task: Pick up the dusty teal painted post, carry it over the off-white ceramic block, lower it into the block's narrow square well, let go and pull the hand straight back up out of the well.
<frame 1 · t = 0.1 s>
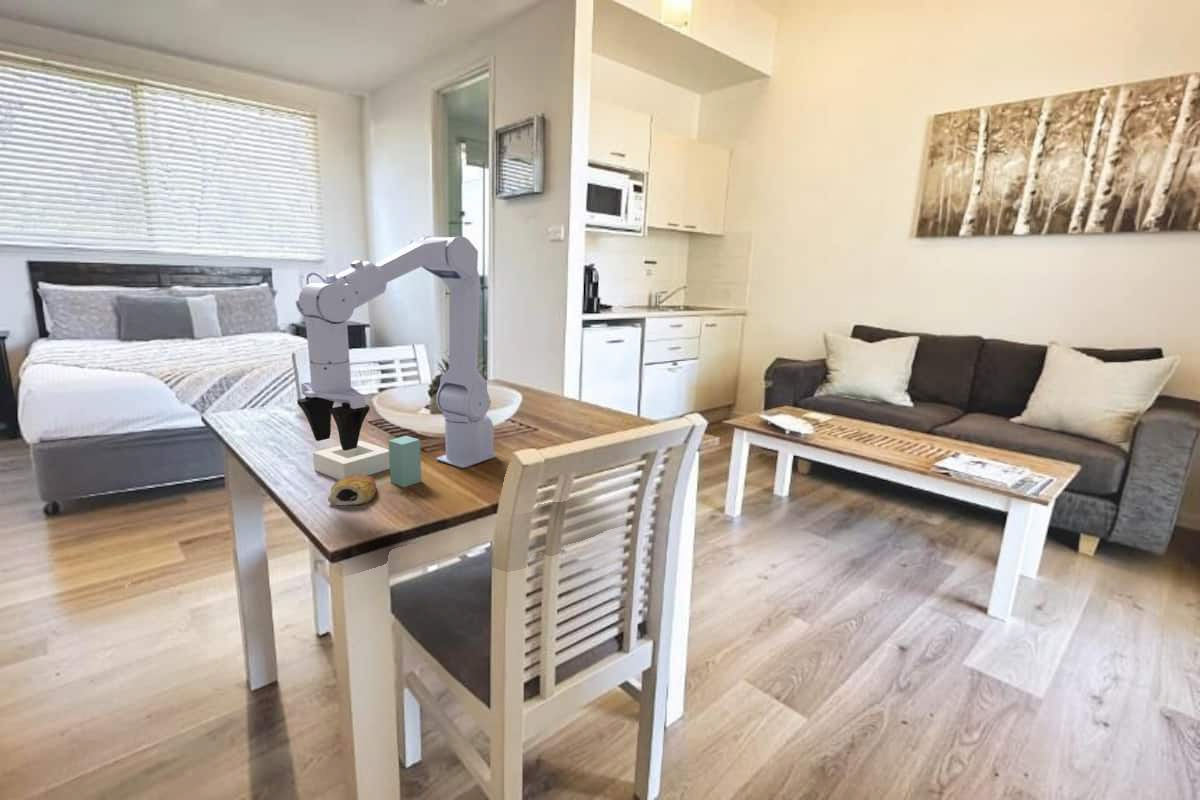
hand: (335, 444, 92), 10 cm above the table, tool pointing down, fingers open, 7 cm apart
pastry: (354, 499, 97), on the table
post: (406, 481, 104), on the table
well: (353, 468, 109), on the table
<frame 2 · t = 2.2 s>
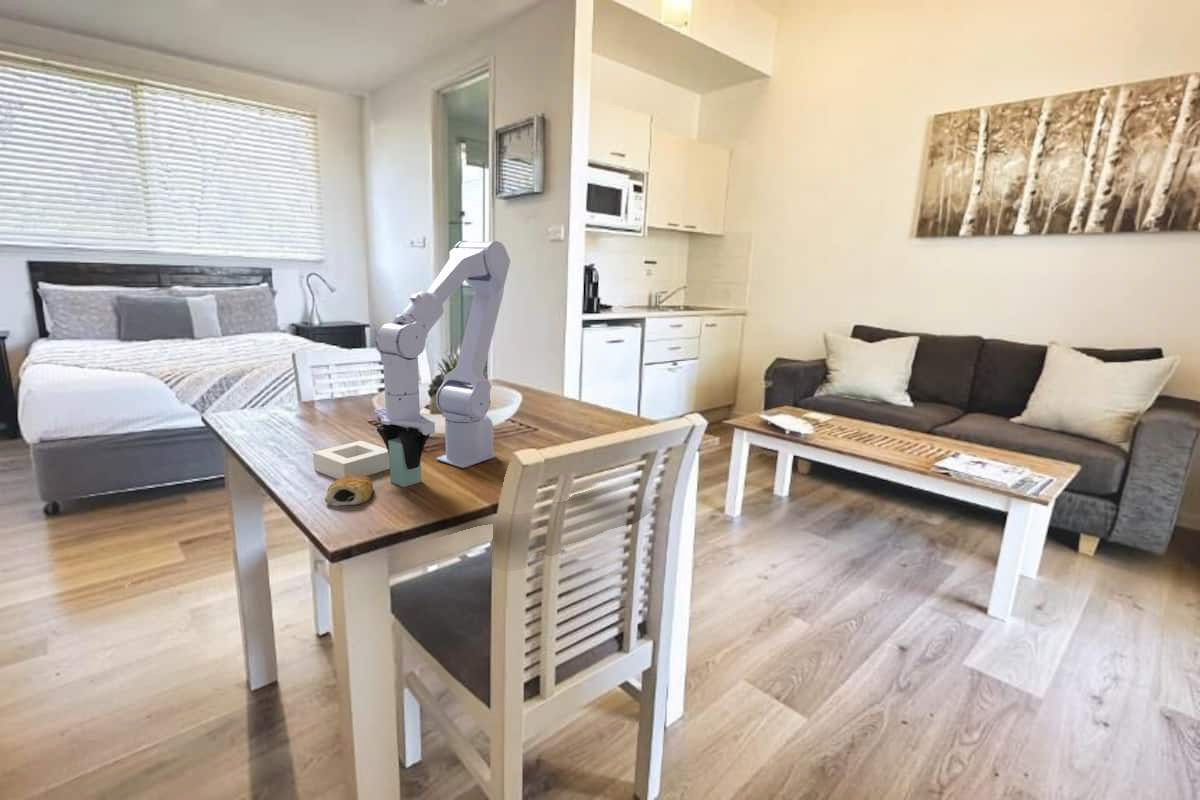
hand: (405, 465, 103), 3 cm above the table, tool pointing down, fingers closed on post, 4 cm apart
post: (406, 481, 104), on the table, touching gripper
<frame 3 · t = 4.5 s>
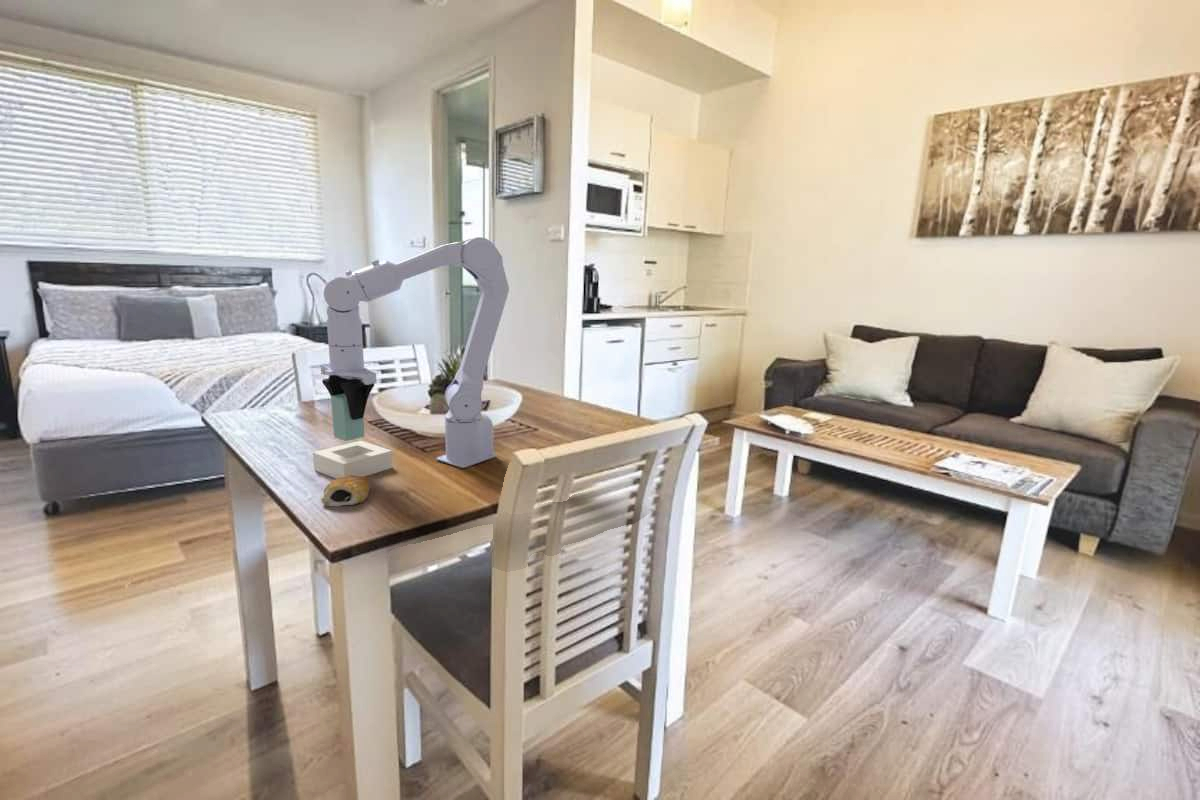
hand: (350, 416, 107), 10 cm above the table, tool pointing down, fingers closed on post, 4 cm apart
post: (349, 436, 107), point 7 cm above the table, touching gripper
when the fingers open (5 cm above the table, at t = 6.6 s): post stays where it is, resting on well.
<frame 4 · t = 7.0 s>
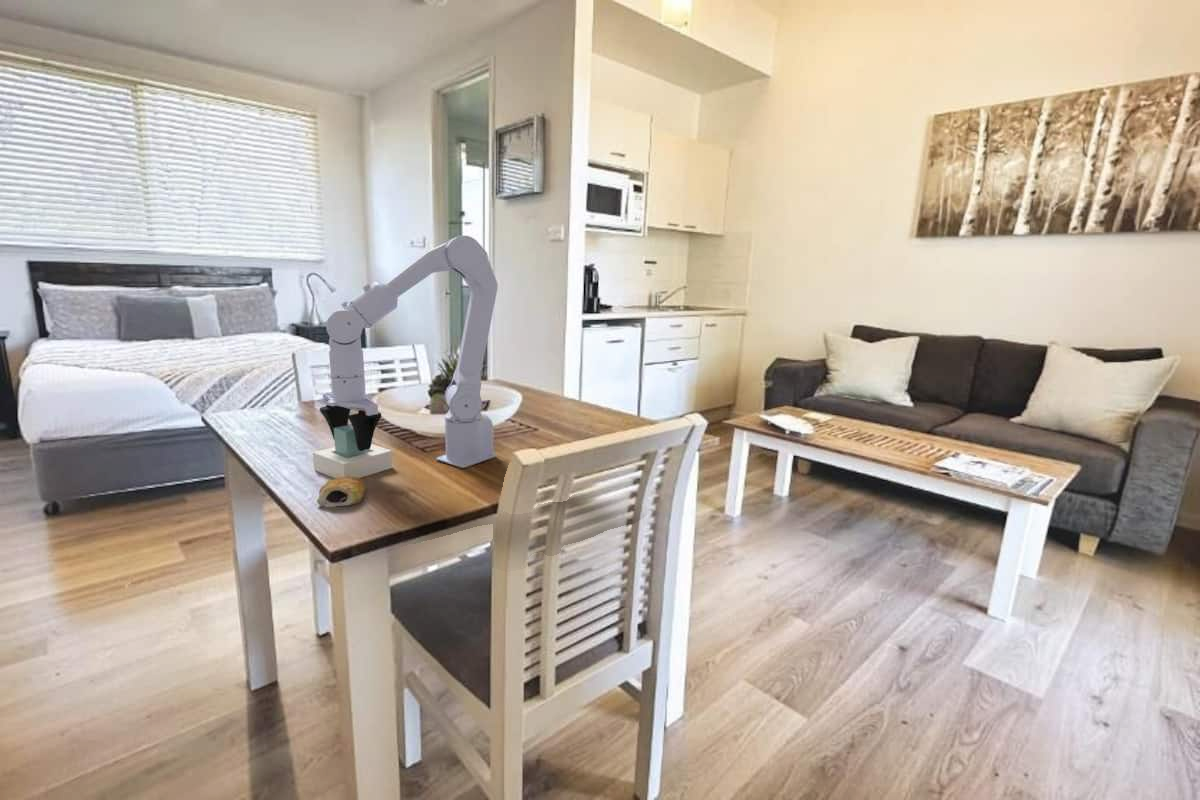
hand: (352, 445, 108), 5 cm above the table, tool pointing down, fingers open, 7 cm apart
post: (351, 468, 109), resting on well
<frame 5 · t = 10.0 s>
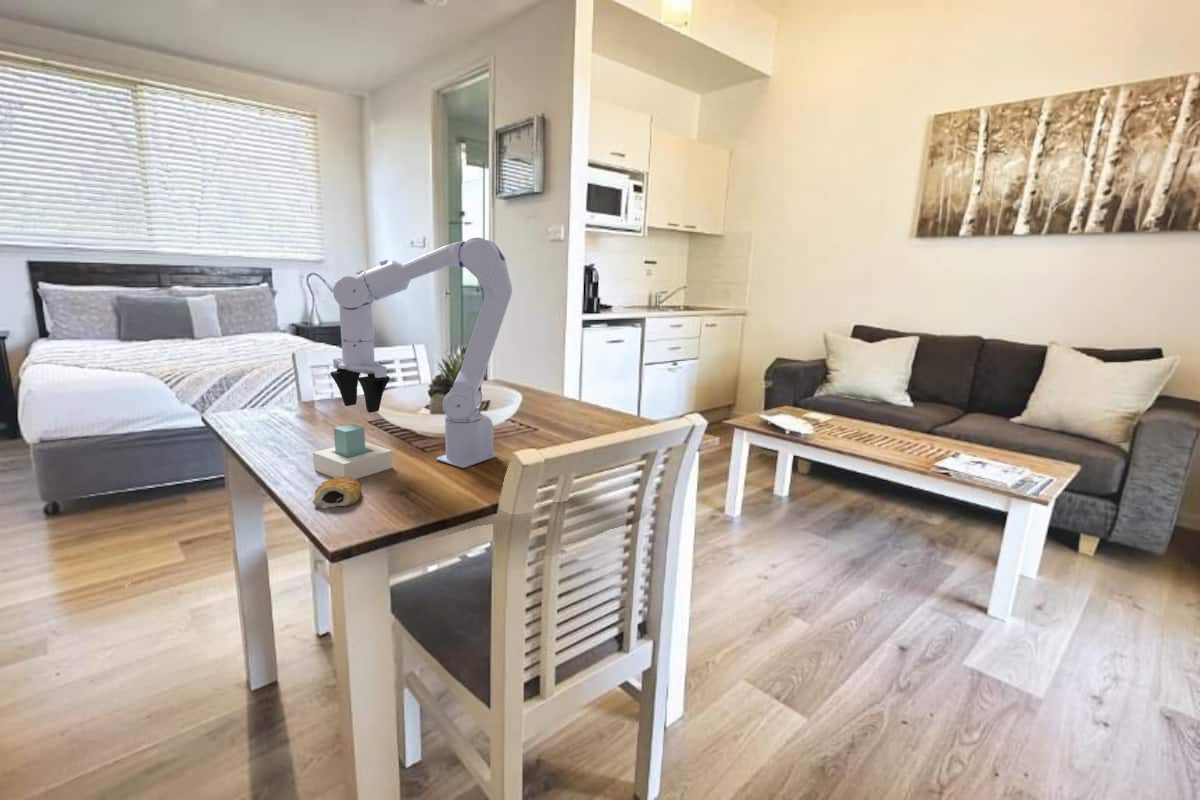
hand: (361, 408, 113), 10 cm above the table, tool pointing down, fingers open, 7 cm apart
at the end: post 0.5 cm off-centre on the well, point 0.3 cm above the well's base; post tilted 0°; the gripper is holding nothing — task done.
